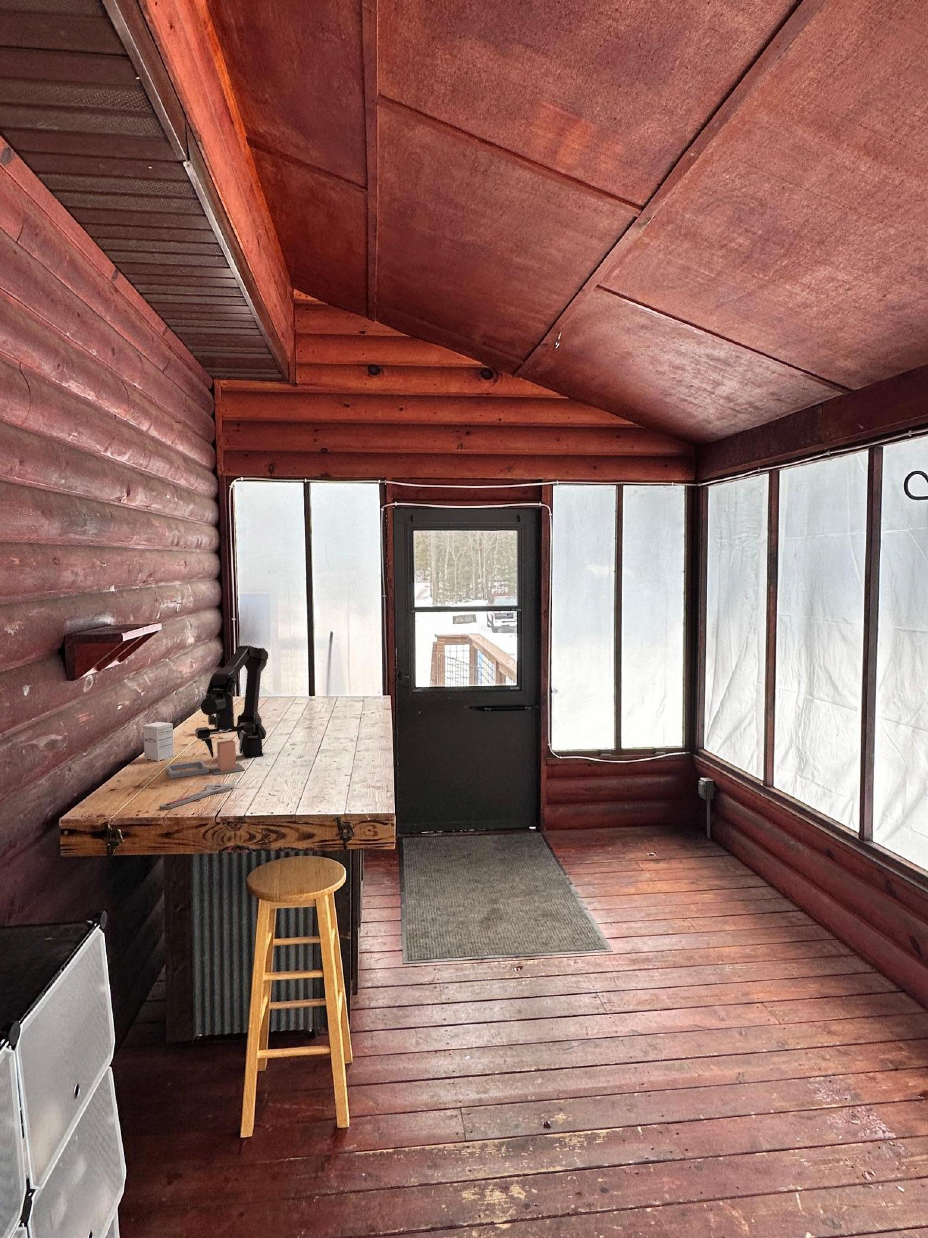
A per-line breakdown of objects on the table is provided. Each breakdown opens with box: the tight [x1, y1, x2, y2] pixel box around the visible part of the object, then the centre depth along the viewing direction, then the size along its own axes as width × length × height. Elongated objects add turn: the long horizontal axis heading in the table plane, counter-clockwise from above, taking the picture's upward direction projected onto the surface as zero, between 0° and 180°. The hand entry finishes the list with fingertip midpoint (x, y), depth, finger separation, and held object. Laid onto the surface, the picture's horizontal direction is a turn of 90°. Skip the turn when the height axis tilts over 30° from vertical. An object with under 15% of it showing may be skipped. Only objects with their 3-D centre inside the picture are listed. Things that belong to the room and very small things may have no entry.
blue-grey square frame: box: [166, 760, 209, 779], centre depth 246 cm, size 12×12×2 cm
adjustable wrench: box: [158, 781, 236, 810], centre depth 218 cm, size 8×26×2 cm, turn 144°
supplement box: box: [142, 721, 175, 762], centre depth 264 cm, size 7×7×13 cm
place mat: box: [208, 762, 246, 776], centre depth 247 cm, size 10×10×1 cm
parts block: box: [216, 739, 237, 771], centre depth 247 cm, size 5×5×9 cm
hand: (226, 755), depth 247 cm, fingers open, 9 cm apart
